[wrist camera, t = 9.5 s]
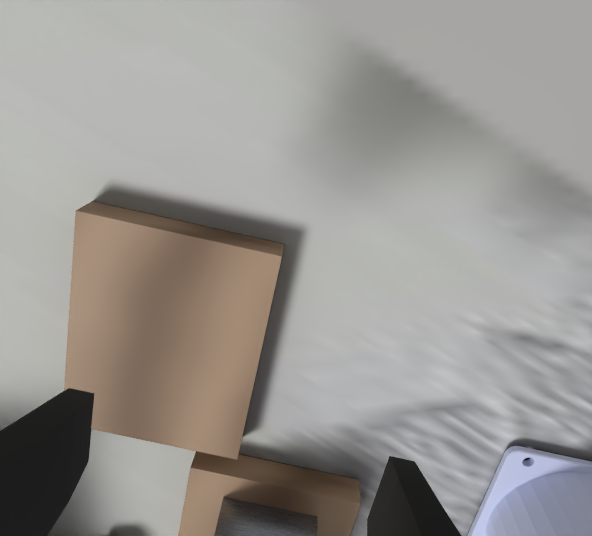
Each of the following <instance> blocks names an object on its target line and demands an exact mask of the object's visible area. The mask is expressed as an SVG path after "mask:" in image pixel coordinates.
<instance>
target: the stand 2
mask: <svg viewBox="0 0 592 536" xmlns="http://www.w3.org/2000/svg"><path fill="white" fill-rule="evenodd" d="M223 497H228V498H233V499H238V500H242V501H247V502H252V503H257V504H261V505H266V506H271V507H276V508H280V509H285V510H290V511H295V512H299V513H304V514H309V515H313V516H317V536H350V534H351V531H352V528H353V525H354V522H355V519H356V516H357V513H358V511H359V508H360V505H361V498H360V486H359V480H358V479H353V478H349V477H344V476H339V475H334V474H330V473H325V472H320V471H315V470H311V469H306V468H301V467H296V466H292V465H287V464H282V463H278V462H273V461H268V460H263V459H259V458H254V457H249V456H244V455H240V454H238V459H237V460H236V459H231V458H227V457H222V456H217V455H212V454H208V453H203V452H198V451H196V453H195V456H194V459H193V462H192V465H191V469H190V474H189V480H188V485H187V491H186V496H185V502H184V507H183V513H182V519H181V524H180V530H179V535H178V536H214V534H215V530H216V526H217V522H218V517H219V513H220V509H221V505H222V501H223Z"/></svg>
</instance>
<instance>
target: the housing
mask: <svg viewBox="0 0 592 536" xmlns="http://www.w3.org/2000/svg"><path fill="white" fill-rule="evenodd" d="M214 536H317V516H313V515H309V514H304V513H299V512H295V511H290V510H285V509H280V508H276V507H271V506H266V505H261V504H257V503H252V502H247V501H242V500H238V499H233V498H228V497H223V501H222V505H221V509H220V513H219V517H218V522H217V526H216V530H215V534H214Z"/></svg>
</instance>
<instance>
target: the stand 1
mask: <svg viewBox="0 0 592 536" xmlns="http://www.w3.org/2000/svg"><path fill="white" fill-rule="evenodd" d="M284 246H285V244H282V243H277V242H273V241H268V240H264V239H259V238H255V237H250V236H246V235H241V234H237V233H232V232H228V231H223V230H219V229H214V228H210V227H205V226H201V225H196V224H192V223H187V222H183V221H178V220H174V219H169V218H165V217H160V216H156V215H151V214H147V213H142V212H138V211H133V210H129V209H124V208H120V207H115V206H111V205H106V204H102V203H97V202H93V201H92V202H90V203H89V204H87V205H85V206H83V207H82V208H80V209H78V210H76V216H75V232H74V247H73V263H72V278H71V294H70V309H69V324H68V340H67V355H66V371H65V386H64V391H65V390H67V389H68V388H72V389H76V390H81V391H86V392H90V393H94V403H93V415H92V426H91V429H94V430H99V431H103V432H108V433H113V434H118V435H122V436H127V437H132V438H137V439H141V440H146V441H151V442H156V443H160V444H165V445H170V446H175V447H179V448H184V449H189V450H193V451H198V452H203V453H208V454H212V455H217V456H222V457H227V458H231V459H236V460H237V459H238V454H239V450H240V445H241V441H242V436H243V432H244V427H245V423H246V418H247V414H248V409H249V405H250V400H251V396H252V391H253V386H254V382H255V377H256V373H257V368H258V364H259V359H260V355H261V350H262V346H263V341H264V336H265V332H266V327H267V323H268V318H269V314H270V309H271V305H272V300H273V296H274V291H275V286H276V282H277V277H278V273H279V268H280V264H281V259H282V255H283V250H284Z"/></svg>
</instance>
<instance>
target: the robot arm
mask: <svg viewBox="0 0 592 536" xmlns="http://www.w3.org/2000/svg"><path fill="white" fill-rule="evenodd" d="M93 403H94V393H90V392H86V391H81V390H76V389H72V388H68V389H67V390H65V391H63V392H62V393H60V394H58V395H57V396H55V397H54V398H52V399H50V400H49V401H47V402H46V403H44V404H43V405H41V406H39V407H38V408H36V409H35V410H33V411H32V412H30V413H28V414H27V415H25V416H24V417H22V418H21V419H19V420H17V421H16V422H14V423H12V424H11V425H9V426H7V427H6V428H4V429H3V430H1V431H0V536H47V535H48V533H49V532H50V530H51V529H52V527H53V526H54V524H55V522H56V521H57V519H58V518H59V516H60V514H61V513H62V511H63V510H64V508H65V507H66V505H67V503H68V502H69V500H70V498H71V496H72V494H73V492H74V490H75V488H76V486H77V484H78V482H79V480H80V478H81V475H82V473H83V471H84V469H85V467H86V465H87V463H88V459H89V448H90V437H91V426H92V415H93ZM525 458H530V459H529V460H526V461H523V460H524V459H525ZM367 536H461V534H460V533H459V531H458V530H457V528H456V527H455V525H454V524H453V522H452V521H451V519H450V518H449V516H448V515H447V513H446V512H445V510H444V508H443V507H442V505H441V504H440V502H439V500H438V499H437V497H436V496H435V494H434V492H433V491H432V489H431V487H430V486H429V484H428V483H427V481H426V479H425V478H424V476H423V474H422V473H421V471H420V470H419V468H418V466H417V465H416V463H415V462H414V461H410V460H405V459H401V458H396V457H391V456H390V457H389V460H388V463H387V465H386V468H385V471H384V474H383V477H382V480H381V482H380V485H379V488H378V491H377V494H376V497H375V499H374V502H373V505H372V508H371V511H370V514H369V516H368V519H367ZM467 536H592V462H591V461H586V460H581V459H577V458H572V457H567V456H563V455H558V454H554V453H549V452H544V451H540V450H535V449H530V448H526V447H521V446H513V447H510V448H508V449H507V450H506V451H505V453H504V455H503V457H502V460H501V462H500V464H499V466H498V468H497V471H496V473H495V475H494V477H493V480H492V482H491V484H490V486H489V488H488V491H487V493H486V495H485V497H484V500H483V502H482V504H481V506H480V508H479V511H478V513H477V515H476V517H475V519H474V522H473V524H472V526H471V528H470V531H469V533H468V535H467Z"/></svg>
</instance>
